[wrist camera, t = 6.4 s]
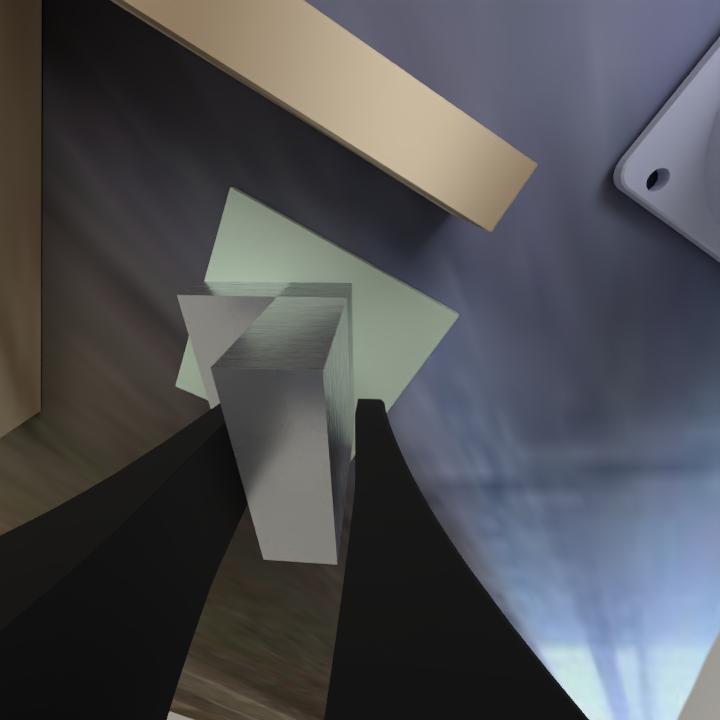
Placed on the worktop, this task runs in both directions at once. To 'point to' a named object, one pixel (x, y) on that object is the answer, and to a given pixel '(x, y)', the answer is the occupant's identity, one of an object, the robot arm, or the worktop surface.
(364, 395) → the pad
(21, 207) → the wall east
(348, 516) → the worktop surface
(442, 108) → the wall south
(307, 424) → the bracket
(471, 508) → the worktop surface
